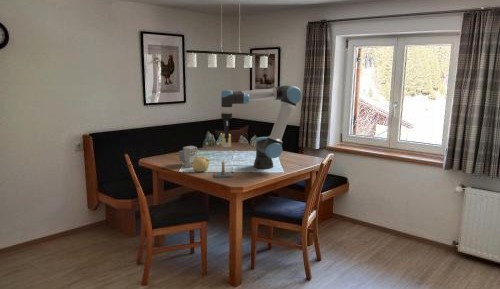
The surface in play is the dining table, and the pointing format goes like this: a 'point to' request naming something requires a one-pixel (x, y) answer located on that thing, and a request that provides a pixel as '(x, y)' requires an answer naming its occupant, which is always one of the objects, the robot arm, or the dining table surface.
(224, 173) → the grey plate with rod
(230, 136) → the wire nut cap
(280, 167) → the dining table surface
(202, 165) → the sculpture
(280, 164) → the dining table surface
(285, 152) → the dining table surface
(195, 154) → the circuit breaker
